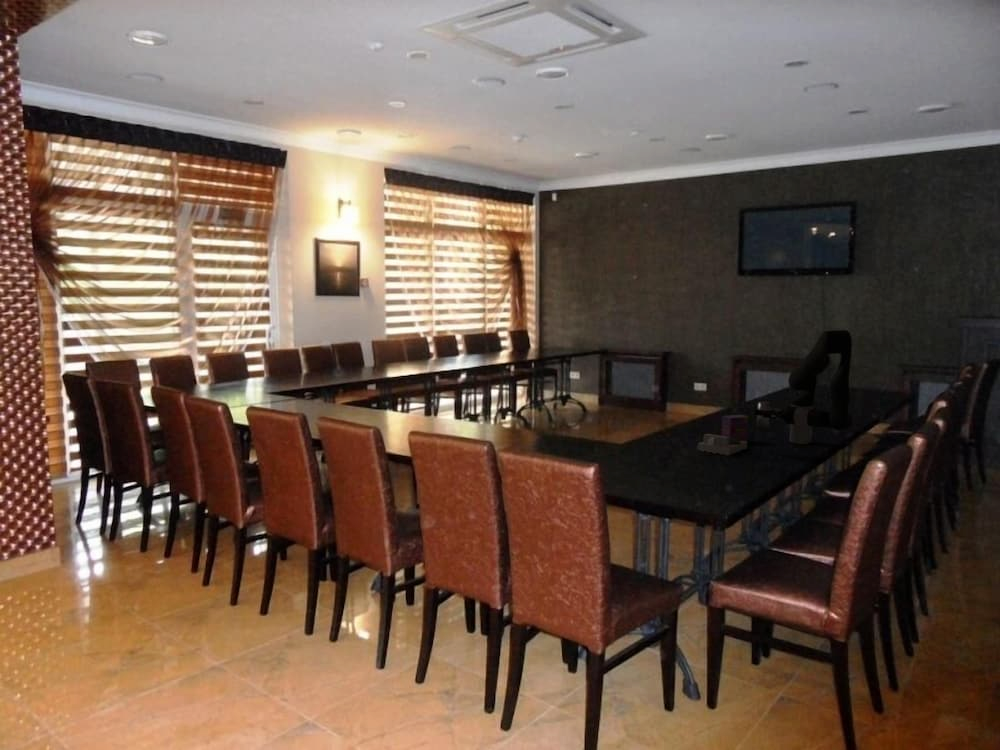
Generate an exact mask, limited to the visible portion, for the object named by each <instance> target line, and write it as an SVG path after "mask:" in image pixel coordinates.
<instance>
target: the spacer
mask: <svg viewBox="0 0 1000 750" xmlns="http://www.w3.org/2000/svg"><path fill="white" fill-rule="evenodd" d="M756 407H757V408H756V410H767V411H769V410H770V408H771V402H769V401H758V402H757V406H756ZM766 415H768V413H766ZM755 425H756V426H755V427H759V428H760V427H761V428H769V427H770V418H765V417H763V416H761V415H756V423H755Z"/></svg>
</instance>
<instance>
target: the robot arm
mask: <svg viewBox="0 0 1000 750" xmlns="http://www.w3.org/2000/svg"><path fill="white" fill-rule="evenodd" d="M852 349H853V339H852V334H851V333H850V332H849V331H848V330H846V329H845V330H844V329H842V330H838V329H837V330H825V331H823V332H822V333H821V334H820V336H819V337H818V339H817V341H816V343H815V345H814V347H813V348H812V349H811V351H809V352H808V354H807V355H806V356H805V357H804V359H803V361H801V363H800V364H799V365H798V366H797V367H795V368H794V369H792V371H791V372H790V374H789V377H788V385H789V387H790V388H791V390H795V391H804V393H802V394H800V395H798V396H795V397H793V398H792V399H791V402H790V403H791V405H787V406H785V408H778V407H776V408H775V407H772V408H771V407H770V410H769V411H767V410H757V409H754V410H753V411H754V412H753V413H754V415H756V416H757V415H761V416H763V417H765V418H769V419H772V420H781V419H783V421H784V423H785V424H786V425H789V438H788V439H789V441H790V443H793V444H796V443H797V445H809V444H808V443H810V444H812V435H813V434H812V433H813V428H829V429H834V430H835V431H845V430H849V429H850V428H851V427H852V425H853V423H854V422H853V421H854V420H853V418H852V417H853V416H851V415H850V414H849V413H848V408H849V407H848V406H849V404H850V401H851V400H850V369H851V362H852V361H851V360H852ZM834 354H838V355H839V354H840V360H839V365H838V367H837V369H836V370H835V373H834V374H833V376H832V378H831V380H830V382H829V401H830V403H829V405H830V406H829V411H827V410H821V409H814V405H815V404H814V402H815V396H816V388H817V387H816V385H817V376H819V375H820V374H823V372H825V370H826V369H827V368H828V367H829V365H830V364H831V363H830V361H831V358H830V355H834ZM766 413H768V415H766Z"/></svg>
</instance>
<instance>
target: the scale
mask: <svg viewBox="0 0 1000 750" xmlns="http://www.w3.org/2000/svg"><path fill="white" fill-rule="evenodd" d="M747 448H748V441H747V442H746V441H741V440H740V439H737V438H733V437H726V436H722V435H717V434H712V433H705V434H703V441H700V442H698V443H697V451H698V450H700V451H699V452H704V451H706V453H710V452H712V453H711V454H716V453H719V454H718V455H722V454H724V456H728V455H729V456H732V455H734V454H737V453H739V452H741V450H742V451H744V450H747ZM743 449H744V450H743ZM738 451H739V452H738ZM736 452H737V453H736ZM733 453H734V454H733ZM731 454H732V455H731Z"/></svg>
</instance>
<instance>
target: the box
mask: <svg viewBox="0 0 1000 750" xmlns="http://www.w3.org/2000/svg"><path fill="white" fill-rule="evenodd" d="M721 422H722V423H721V436H726V437H733V438H737V439H740V440H741V441H746V442H747V443H748V435H749V433H748V431H749V416H748V415H745V414H744V415H743V414H734V415H732V414H731V415H722V419H721Z"/></svg>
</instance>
